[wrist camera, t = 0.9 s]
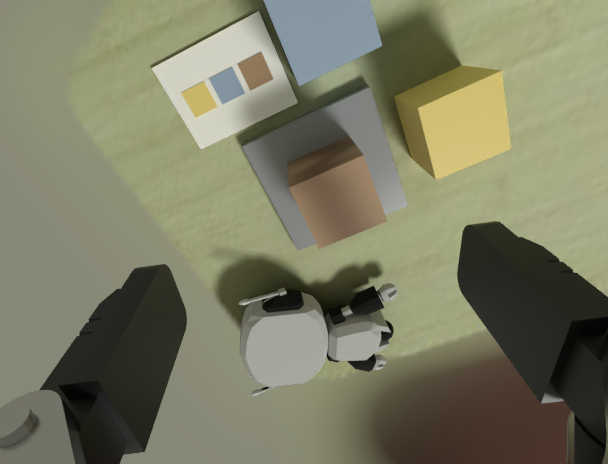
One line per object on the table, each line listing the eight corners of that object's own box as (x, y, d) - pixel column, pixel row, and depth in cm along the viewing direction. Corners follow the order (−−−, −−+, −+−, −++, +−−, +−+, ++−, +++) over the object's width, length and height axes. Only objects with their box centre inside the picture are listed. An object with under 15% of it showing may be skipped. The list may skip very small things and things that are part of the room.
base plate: (367, 85, 24) (370, 86, 23) (404, 201, 29) (407, 205, 28) (243, 144, 25) (241, 147, 25) (297, 245, 30) (298, 250, 29)
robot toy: (390, 261, 33) (234, 275, 31) (408, 291, 29) (231, 308, 27) (377, 349, 39) (246, 365, 37) (391, 384, 35) (245, 403, 33)
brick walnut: (349, 135, 25) (363, 155, 20) (370, 192, 27) (387, 221, 23) (287, 163, 25) (288, 188, 21) (313, 216, 28) (319, 248, 23)
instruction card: (259, 10, 21) (258, 10, 21) (298, 102, 24) (298, 102, 24) (152, 68, 23) (151, 68, 22) (201, 148, 25) (200, 149, 25)
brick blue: (336, -42, 20) (351, -65, 16) (362, 45, 23) (382, 46, 18) (262, -2, 21) (258, -13, 17) (295, 78, 23) (299, 86, 19)
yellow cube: (461, 65, 24) (501, 70, 19) (472, 131, 26) (511, 148, 22) (393, 96, 24) (417, 108, 20) (410, 157, 27) (436, 179, 22)
